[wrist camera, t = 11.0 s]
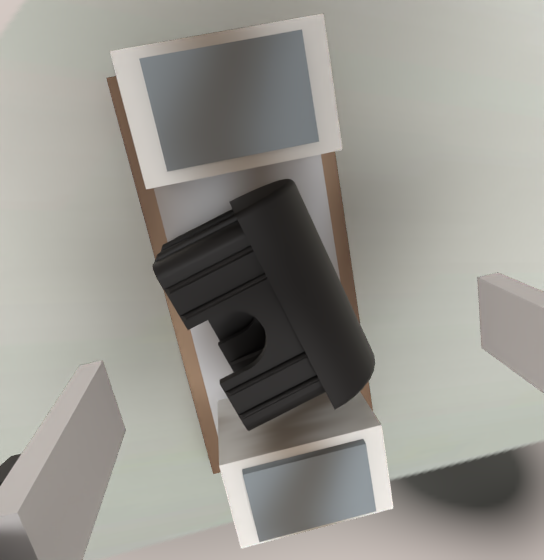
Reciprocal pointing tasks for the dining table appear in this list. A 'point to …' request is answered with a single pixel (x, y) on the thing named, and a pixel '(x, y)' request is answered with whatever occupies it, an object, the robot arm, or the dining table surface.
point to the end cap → (268, 304)
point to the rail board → (215, 201)
